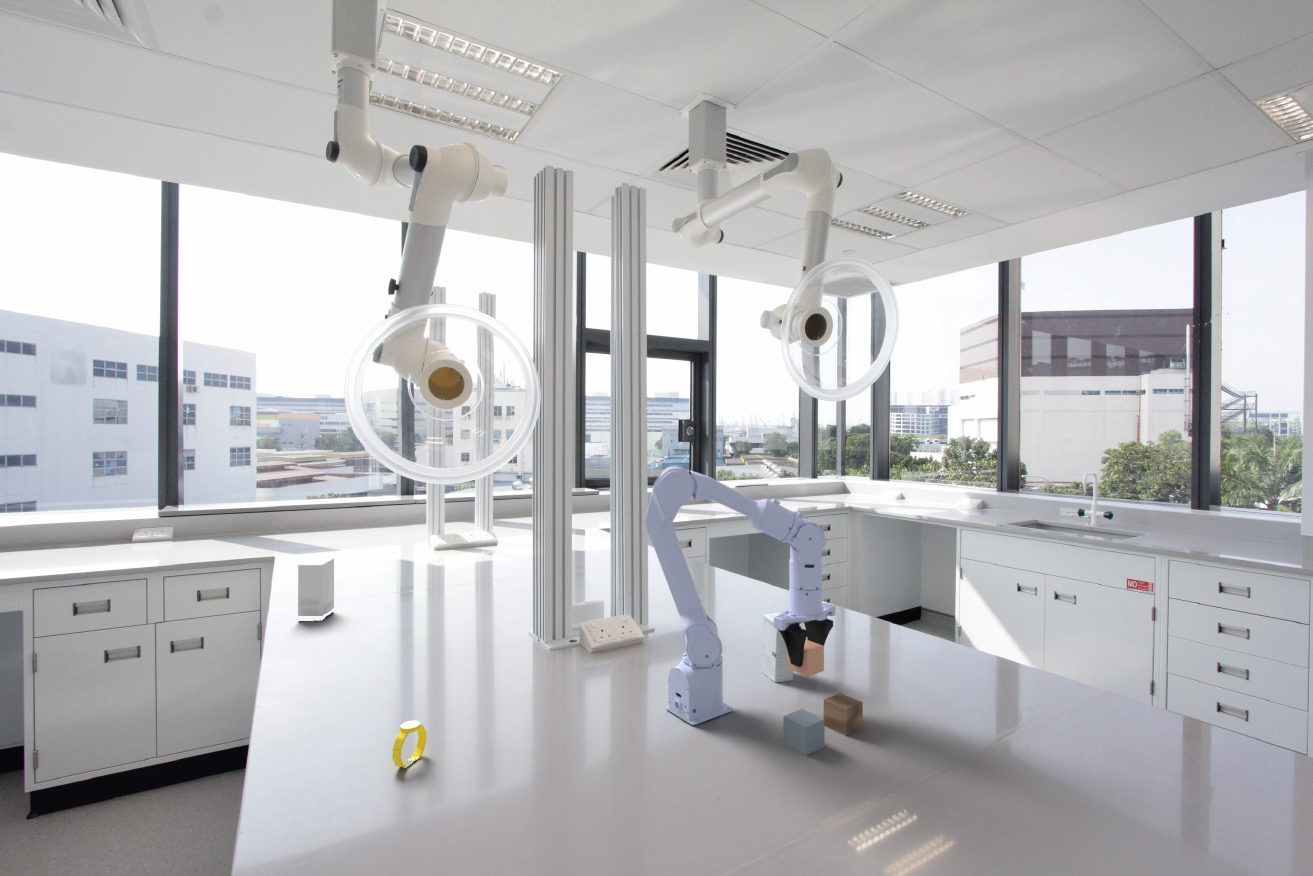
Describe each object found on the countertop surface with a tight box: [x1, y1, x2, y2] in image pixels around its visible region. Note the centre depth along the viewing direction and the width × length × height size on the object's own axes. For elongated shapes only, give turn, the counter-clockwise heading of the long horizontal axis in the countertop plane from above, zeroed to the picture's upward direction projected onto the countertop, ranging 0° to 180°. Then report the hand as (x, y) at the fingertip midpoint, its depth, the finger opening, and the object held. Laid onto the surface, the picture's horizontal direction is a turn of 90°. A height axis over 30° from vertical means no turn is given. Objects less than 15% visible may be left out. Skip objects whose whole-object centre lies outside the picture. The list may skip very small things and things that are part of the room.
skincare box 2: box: [761, 612, 794, 683], centre depth 122 cm, size 6×4×12 cm
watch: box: [391, 720, 428, 769], centre depth 91 cm, size 6×3×6 cm, turn 163°
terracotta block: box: [788, 639, 825, 678], centre depth 108 cm, size 4×4×4 cm
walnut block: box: [823, 692, 864, 737], centre depth 101 cm, size 4×4×4 cm
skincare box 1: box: [297, 557, 335, 617], centre depth 163 cm, size 8×7×16 cm
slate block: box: [783, 708, 826, 756], centre depth 95 cm, size 4×4×4 cm
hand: (805, 661), depth 108 cm, fingers closed on terracotta block, 4 cm apart
